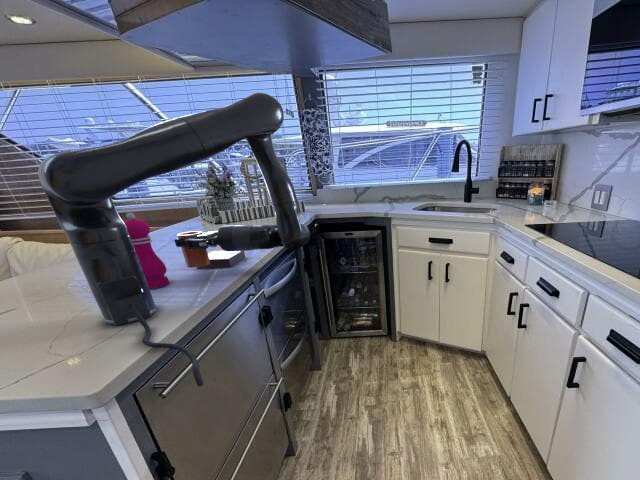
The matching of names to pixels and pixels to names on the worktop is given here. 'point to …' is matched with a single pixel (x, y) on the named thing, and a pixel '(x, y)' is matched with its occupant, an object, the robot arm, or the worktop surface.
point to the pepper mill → (146, 252)
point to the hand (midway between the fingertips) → (183, 240)
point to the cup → (194, 252)
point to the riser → (224, 259)
